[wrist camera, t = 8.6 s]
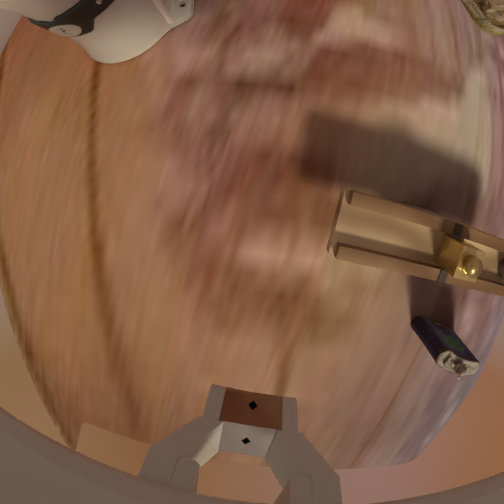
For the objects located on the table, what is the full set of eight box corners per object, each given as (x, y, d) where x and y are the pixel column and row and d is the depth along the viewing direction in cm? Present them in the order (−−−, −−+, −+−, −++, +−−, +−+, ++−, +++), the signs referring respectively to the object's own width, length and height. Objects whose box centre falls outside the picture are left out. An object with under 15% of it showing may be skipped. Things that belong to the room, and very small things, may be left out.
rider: (443, 233, 25) (469, 249, 20) (464, 240, 25) (491, 256, 20) (434, 262, 26) (458, 281, 21) (455, 267, 26) (480, 287, 21)
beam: (330, 181, 33) (353, 192, 22) (486, 230, 32) (536, 255, 22) (318, 231, 34) (334, 264, 24) (473, 270, 34) (517, 304, 24)
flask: (456, 330, 37) (489, 371, 27) (445, 345, 38) (475, 388, 28) (416, 311, 37) (449, 356, 26) (405, 328, 38) (433, 376, 27)
